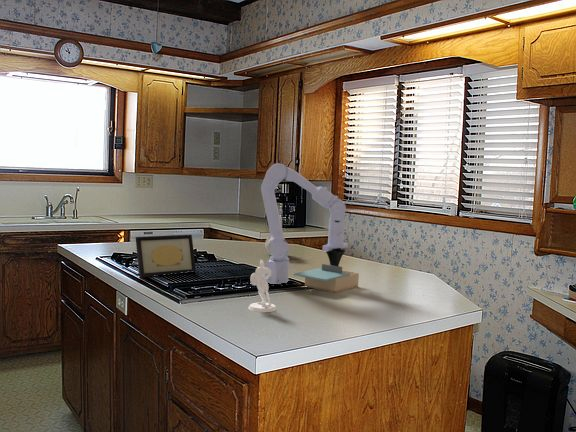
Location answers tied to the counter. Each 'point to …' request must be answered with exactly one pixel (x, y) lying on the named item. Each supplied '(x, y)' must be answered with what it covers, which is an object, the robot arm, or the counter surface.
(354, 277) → the mailer box
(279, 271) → the robot arm
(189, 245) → the picture frame
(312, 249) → the counter surface
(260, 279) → the figurine
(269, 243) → the headphones
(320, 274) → the lid
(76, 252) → the counter surface
